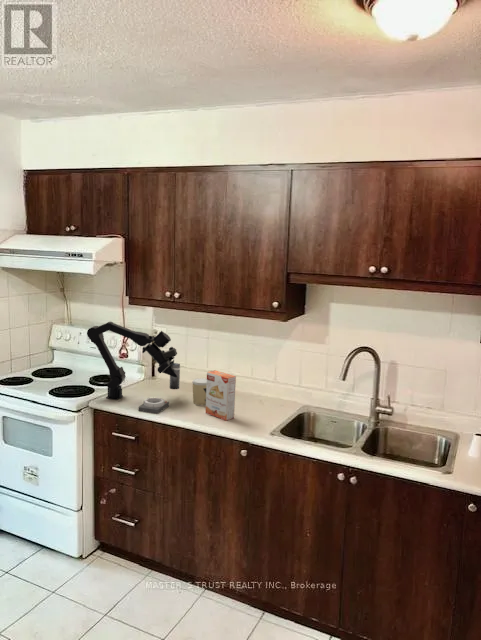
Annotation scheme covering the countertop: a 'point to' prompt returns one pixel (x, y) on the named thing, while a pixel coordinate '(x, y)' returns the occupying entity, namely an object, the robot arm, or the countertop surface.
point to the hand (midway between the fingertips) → (177, 375)
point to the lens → (174, 381)
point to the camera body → (153, 405)
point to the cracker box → (220, 394)
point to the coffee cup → (199, 391)
